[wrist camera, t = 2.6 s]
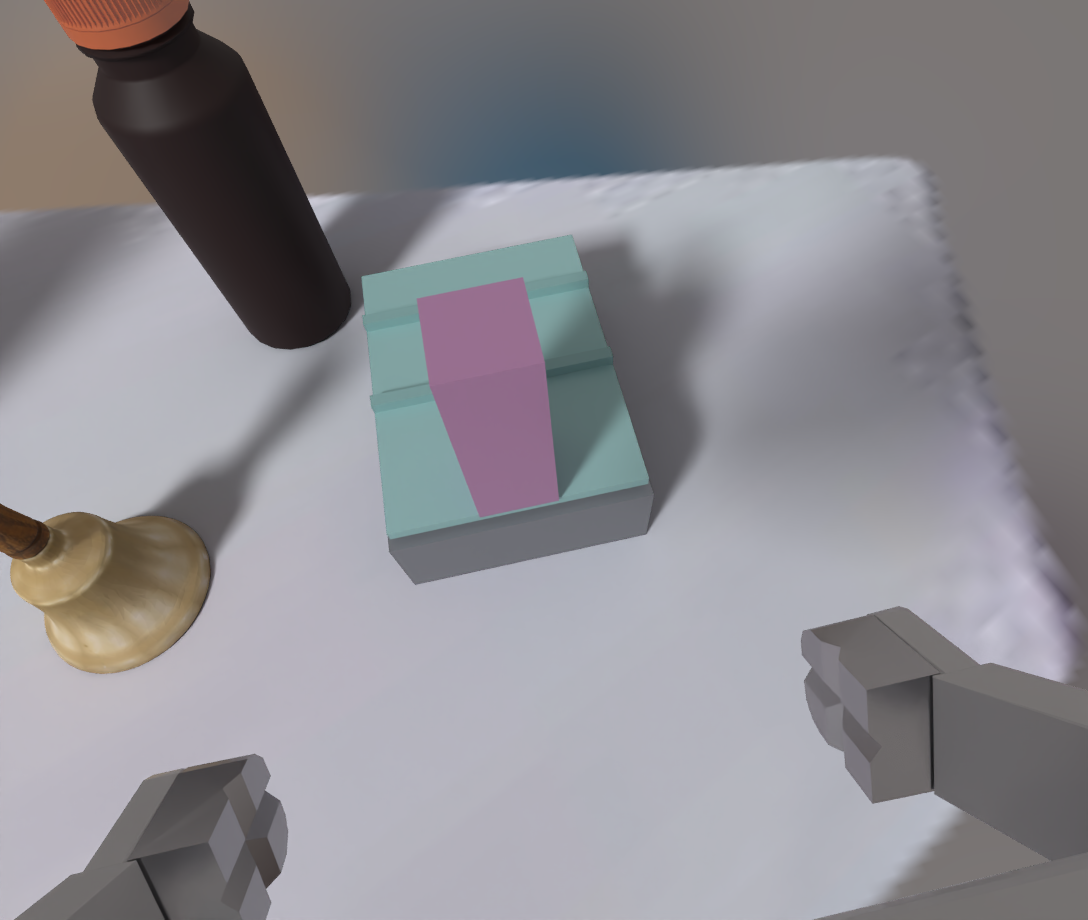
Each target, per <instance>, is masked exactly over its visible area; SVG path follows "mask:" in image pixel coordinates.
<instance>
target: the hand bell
mask: <svg viewBox="0 0 1088 920" xmlns="http://www.w3.org/2000/svg"><path fill="white" fill-rule="evenodd" d="M0 552H3V553H5V554H6V555H8V556H10V557H12V558H13V560H12V563H11V570H10V576H11V582H12V586H13V588H14V590H15V591H16V593H17V594H18V595H19V596H20V597H21V598H22V599H23V600H25V601H26V602H28V603H30V604H32V605H34V606H35V607H37V608H38V609H40V610H41V611H43V612H44V620H45V628H46V633H47V635H48V638H49V640H50V643H51V645H52V647H53V648H54V650H55V651H56V652H57V654H58V655H59V656H60V657H61V658H62V659H63V660H64V661H65V662H67V663H68V664H69V665H71V666H73V667H75V668H77V669H80V670H83V671H86V672H91V673H99V674H106V673H117V672H121V671H126V670H129V669H132V668H135V667H138V666H140V665H142V664H144V663H146V662H149V661H150V660H152V659H154V658H155V657H157V656H159V655H160V654H162V653H163V652H164V651H166V650H167V649H168V648H169V647H171V646H172V645H173V644H174V643H175V642H176V641H177V640H178V639H179V638H180V637H181V636H182V635H183V634H184V633H185V632H186V631H187V630H188V628H189V627H190V625H191V624H192V623H193V621H194V619H195V618H196V616H197V615H198V613H199V611H200V609H201V607H202V604H203V602H204V600H205V597H206V594H207V590H208V587H209V581H210V574H211V570H210V562H209V556H208V553H207V550H206V547H205V545H204V543H203V541H202V540H201V538H200V537H199V536H198V534H197V533H196V532H195V531H194V530H192V529H191V528H190V527H189V526H187V525H186V524H184V523H182V522H180V521H178V520H175V519H171V518H167V517H162V516H141V517H134V518H129V519H125V520H122V521H118V522H116V523H114V522H111V521H108V520H106V519H103V518H101V517H99V516H97V515H94V514H90V513H84V512H71V513H65V514H62V515H58V516H56V517H53V518H51V519H49V520H47V521H45V522H43V523H42V522H40V521H37V520H34V519H32V518H30V517H28V516H25V515H23V514H21V513H18V512H16V511H14V510H12V509H10V508H8V507H5V506H3V505H2V504H0Z"/></svg>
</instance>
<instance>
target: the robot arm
mask: <svg viewBox="0 0 1088 920" xmlns="http://www.w3.org/2000/svg"><path fill="white" fill-rule="evenodd" d="M801 649H802V656H803V657H804V658H805V659H806V661H807V662H808V663H809V664H810V665H811V667H812V668H811V670H810V671H809V673H808V675H807V676H806V678H805V680H804V684H805V692H806V700H807V703H808V706H809V710H810V713H811V716H812V719H813V721H814V723H815V725H816V726H817V728H818V730H819V732H820V734H821V735H822V736H823V738H824V739H825V741H826V742H827V743H828V745H830V746H832V747H834V748H836V749H839V750H841V751H843V752H844V757H845V768H846V769H847V770H848V772H849V773H850V774H851V776H852V777H853V778H854V780H855V781H856V782H857V784H858V785H859V786H860V788H861V789H862V790H863V792H864V793H865V794H866V796H867V797H868V798H869V800H870V801H871V802H872V804H874V803H878V802H883V801H888V800H893V799H898V798H903V797H908V796H912V795H917V794H922V793H927V792H932V791H934V794H935V795H937V796H939V797H940V798H942V799H944V800H946V801H947V802H949V803H951V804H953V805H954V806H956V807H958V808H960V809H961V810H963V811H965V812H967V813H968V814H970V815H972V816H974V817H975V818H977V819H979V820H981V821H982V822H984V823H986V824H988V825H989V826H991V827H993V828H995V829H996V830H998V831H1000V832H1002V833H1003V834H1005V835H1007V836H1009V837H1010V838H1012V839H1014V840H1016V841H1017V842H1019V843H1021V844H1023V845H1024V846H1026V847H1028V848H1030V849H1031V850H1033V851H1035V852H1037V853H1038V854H1040V855H1042V856H1044V857H1045V858H1047V859H1049V860H1051V861H1050V862H1045V863H1042V864H1038V865H1033V866H1029V867H1025V868H1021V869H1017V870H1013V871H1009V872H1005V873H1001V874H997V875H993V876H989V877H985V878H981V879H977V880H973V881H969V882H965V883H960V884H956V885H952V886H948V887H944V888H940V889H936V890H932V891H928V892H924V893H920V894H916V895H912V896H908V897H904V898H900V899H896V900H892V901H888V902H884V903H880V904H875V905H871V906H867V907H863V908H859V909H855V910H851V911H847V912H842V913H838V914H834V915H830V916H826V917H822V918H818V919H814V920H1088V690H1084V689H1081V688H1077V687H1074V686H1070V685H1067V684H1063V683H1060V682H1056V681H1053V680H1049V679H1046V678H1042V677H1039V676H1035V675H1032V674H1028V673H1025V672H1021V671H1018V670H1015V669H1011V668H1008V667H1004V666H1001V665H997V664H994V663H988V664H983V665H980V664H978V663H977V662H976V661H975V660H973V659H972V658H971V657H969V656H968V655H967V654H966V653H964V652H963V651H962V650H960V649H959V648H958V647H956V646H955V645H954V644H953V643H951V642H950V641H949V640H947V639H946V638H945V637H944V636H942V635H941V634H940V633H938V632H937V631H936V630H935V629H933V628H932V627H931V626H929V625H928V624H927V623H926V622H924V621H923V620H922V619H920V618H919V617H918V616H917V615H915V614H914V613H913V612H911V611H910V610H909V609H907V608H904V607H900V606H898V607H894V608H890V609H886V610H883V611H879V612H875V613H871V614H867V616H863V617H859V618H854V619H850V620H846V621H842V622H838V623H833V624H829V625H825V626H821V627H817V628H812V629H808V630H804V631H803V632H802V637H801ZM270 776H271V775H270V773H269V771H268V769H267V766H266V764H265V762H264V759H263V758H262V757H260V756H258V755H256V754H251V755H246V756H241V757H236V758H232V759H227V760H222V761H217V762H212V763H207V764H202V765H197V766H192V767H188V768H186V769H178V770H174V771H169V772H165V773H160V774H156V775H153V776H151V777H149V778H147V779H146V780H144V781H143V782H142V783H141V785H140V787H139V788H138V790H137V791H136V793H135V794H134V796H133V797H132V799H131V800H130V802H129V803H128V805H127V806H126V808H125V809H124V811H123V812H122V814H121V815H120V817H119V818H118V820H117V821H116V823H115V824H114V826H113V827H112V829H111V830H110V832H109V833H108V835H107V836H106V838H105V840H104V841H103V843H102V844H101V846H100V847H99V849H98V850H97V852H96V853H95V855H94V856H93V858H92V859H91V861H90V862H89V864H88V865H87V867H86V868H85V870H84V871H83V872H82V873H77V874H73V875H70V876H69V877H68V878H67V879H65V880H64V881H63V882H61V883H60V884H59V885H58V886H56V887H55V888H54V889H53V890H51V891H50V892H49V893H47V894H46V895H45V896H44V897H42V898H41V899H40V900H39V901H37V902H36V903H35V904H33V905H32V906H31V907H30V908H28V909H27V910H26V911H25V912H23V913H22V914H21V915H19V916H18V917H17V918H16V919H14V920H266V917H267V914H268V911H269V908H270V905H271V900H270V898H269V895H268V893H267V890H266V889H267V887H268V886H269V885H270V884H271V883H272V882H273V881H274V880H275V879H276V878H277V877H278V876H279V874H280V873H281V871H282V868H283V865H284V861H285V858H286V855H287V841H288V828H287V822H286V816H285V812H284V810H283V807H282V804H281V801H280V800H278V799H277V798H275V797H274V796H272V795H271V794H269V793H268V792H266V791H265V789H266V787H267V784H268V782H269V779H270Z"/></svg>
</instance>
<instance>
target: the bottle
mask: <svg viewBox="0 0 1088 920" xmlns="http://www.w3.org/2000/svg"><path fill="white" fill-rule="evenodd" d="M44 1H45V2H46V4H47V5H48V7H49V8H50V10H51V11H52V13H53V14H54V16H55V18H56V19H57V20H58V22H59V23H60V25H61V26H62V28H63V29H64V31H65V32H66V34H67V35H68V37H69V38H70V39H71V40H72V41H74V42H75V43H76V46H77V48H78V49H79V50H80V51H81V52H82V53H83V54H85V55H86V56H87V57H90V58H93V59H94V61H95V62H96V64H97V65H98V67H99V68H98V73H97V78H96V82H95V87H94V93H93V105H94V108H95V111H96V114H97V118H98V120H99V122H100V124H101V125H102V126H103V128H104V129H105V130H106V132H107V133H108V135H109V136H110V138H111V139H112V140H113V142H114V143H115V144H116V146H117V147H118V149H119V150H120V152H121V153H122V154H123V156H124V157H125V159H126V160H127V161H128V162H129V164H130V165H131V167H132V168H133V170H134V171H135V172H136V174H137V175H138V176H139V178H140V179H141V181H142V182H143V184H144V185H145V186H146V188H147V189H148V191H149V192H150V193H151V195H152V196H153V198H154V199H155V200H156V202H157V203H158V205H159V206H160V207H161V209H162V210H163V212H164V213H165V214H166V216H167V217H168V219H169V220H170V221H171V223H172V224H173V226H174V227H175V228H176V230H177V231H178V233H179V234H180V235H181V237H182V238H183V240H184V241H185V242H186V244H187V245H188V247H189V248H190V249H191V251H192V252H193V254H194V255H195V256H196V258H197V259H198V260H199V262H200V263H201V265H202V266H203V267H204V269H205V270H206V272H207V273H208V274H209V276H210V277H211V279H212V280H213V281H214V283H215V284H216V286H217V287H218V288H219V290H220V291H221V293H222V294H223V295H224V297H225V298H226V300H227V301H228V302H229V304H230V305H231V307H232V308H233V309H234V311H235V312H236V314H237V315H238V316H239V318H240V319H241V321H242V322H243V323H244V325H245V326H246V327H247V329H248V330H249V332H250V333H251V334H252V335H253V336H254V337H255V338H257V339H258V340H259V341H260V342H261V343H264V344H266V345H268V346H271V347H273V348H279V349H296V348H302V347H308V346H310V345H312V344H315V343H317V342H319V341H322V340H324V339H325V338H326V337H328V336H329V335H330V334H332V333H333V332H334V331H336V330H337V329H338V327H339V326H340V325H341V324H342V322H343V321H344V320H345V319H346V317H347V314H348V311H349V308H350V306H351V299H350V289H349V287H348V284H347V282H346V280H345V278H344V276H343V274H342V271H341V269H340V267H339V265H338V263H337V261H336V259H335V256H334V254H333V252H332V250H331V248H330V246H329V244H328V241H327V239H326V237H325V235H324V233H323V231H322V228H321V226H320V224H319V222H318V220H317V218H316V216H315V213H314V211H313V209H312V207H311V205H310V203H309V200H308V198H307V196H306V194H305V192H304V190H303V188H302V185H301V183H300V181H299V179H298V177H297V175H296V173H295V170H294V168H293V166H292V164H291V162H290V160H289V157H288V156H287V153H286V151H285V149H284V147H283V145H282V142H281V140H280V138H279V136H278V134H277V132H276V129H275V127H274V125H273V123H272V121H271V119H270V117H269V115H268V112H267V110H266V108H265V106H264V104H263V102H262V99H261V97H260V95H259V93H258V91H257V89H256V86H255V84H254V82H253V80H252V78H251V76H250V74H249V71H248V70H247V67H246V66H245V64H244V62H243V60H242V58H241V56H240V55H239V54H238V53H237V52H236V51H235V50H233V49H232V48H230V47H229V46H227V45H226V44H225V43H223V42H221V41H220V40H218V39H216V38H213V37H211V36H209V35H207V34H205V33H203V32H201V31H199V30H197V29H196V28H195V26H194V24H193V16H194V10H193V8H192V6H191V4H190V2H189V0H44Z"/></svg>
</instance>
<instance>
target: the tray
mask: <svg viewBox="0 0 1088 920" xmlns="http://www.w3.org/2000/svg"><path fill="white" fill-rule="evenodd" d="M653 498H654V493H653V490H652V487H651V483H650V480H649V481H648V484H646V485H641V486H636V487H632V488H627V489H622V490H618V491H613V492H608V493H604V494H599V495H595V496H590V497H585V498H581V499H576V500H571V501H567V502H562V503H557V504H553V505H548V506H543V507H539V508H534V509H529V510H525V511H520V512H516V513H511V514H506V515H502V516H497V517H492V518H488V519H483V520H478V521H474V522H469V523H464V524H460V525H455V526H451V527H446V528H441V529H437V530H432V531H427V532H423V533H418V534H413V535H409V536H404V537H399V538H395V539H390V538H389V537H388V544H389V552H390V554H391V555H392V556H393V557H394V559H395V560H396V561H397V562H398V564H399V565H400V566H401V568H402V569H403V570H404V571H405V573H406V574H407V575H408V576H409V578H410V579H411V580H412V582H413V583H414V584H415V585H416V584H421V583H425V582H430V581H434V580H439V579H443V578H448V577H453V576H457V575H462V574H466V573H471V572H475V571H480V570H485V569H489V568H494V567H498V566H503V565H508V564H512V563H517V562H521V561H526V560H530V559H535V558H540V557H544V556H549V555H553V554H558V553H562V552H567V551H572V550H576V549H581V548H585V547H590V546H595V545H599V544H604V543H608V542H613V541H617V540H622V539H627V538H631V537H636V536H640V535H645V534H646V533H647V528H648V523H649V518H650V513H651V508H652V503H653Z"/></svg>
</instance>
